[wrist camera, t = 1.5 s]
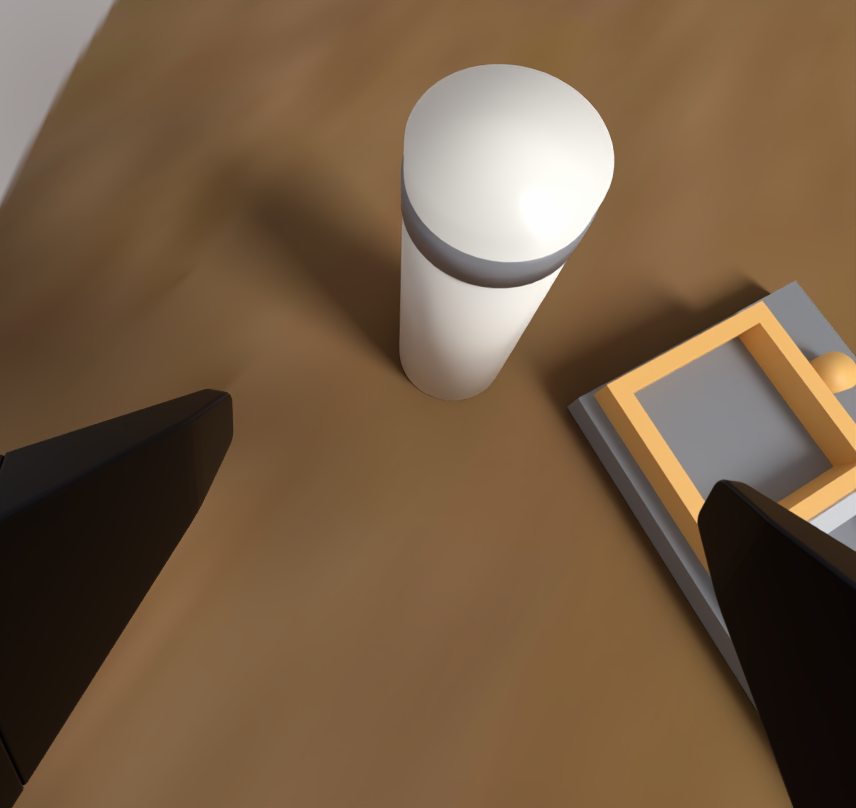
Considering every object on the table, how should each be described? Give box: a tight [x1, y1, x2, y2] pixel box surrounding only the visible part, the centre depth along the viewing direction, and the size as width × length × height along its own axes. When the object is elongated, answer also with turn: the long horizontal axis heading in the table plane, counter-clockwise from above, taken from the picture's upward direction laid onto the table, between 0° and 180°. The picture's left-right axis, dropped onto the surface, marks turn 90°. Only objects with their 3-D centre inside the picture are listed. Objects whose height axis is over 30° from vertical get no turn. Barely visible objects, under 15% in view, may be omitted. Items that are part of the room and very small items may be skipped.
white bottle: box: [399, 64, 614, 401], centre depth 18 cm, size 5×5×13 cm
